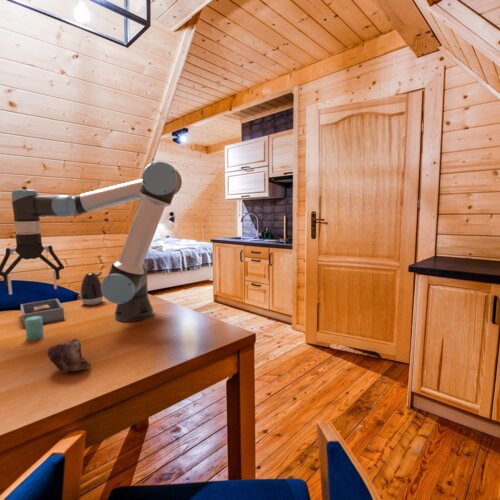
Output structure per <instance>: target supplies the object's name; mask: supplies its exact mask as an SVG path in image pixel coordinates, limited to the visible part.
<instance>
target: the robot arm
mask: <svg viewBox="0 0 500 500" xmlns="http://www.w3.org/2000/svg"><path fill="white" fill-rule="evenodd" d="M182 183H183V182H182V176H181V174H180V172H179V171H178V170H177V169H176V168H175V167H174V166H173V165H171V164H170V163H168V162H165V161H153V162H151V163H149V164H148V165H147V166H145V168H144V170H143V171H142V175H141V178H139V179H136V180H132V181H129V182H124V183H121V184H116V185H113V186H108V187H104V188H99V189H96V190H92V191H88V192H87V191H86V192H84V193H80V194H77V195H76V194H74V195H65V194H59V195H58V194H55V195H50V194H49V195H48V194H47V195H41V194H38V191H37V190H35V189H21V188H20V189H17V188H16V189H13V190H12V191H11V205H12V212H13V220H14V222H13V224H14V232H15V233H16V235H15V243H16V247H15V248H13V247H12V248H11V247H6V248H5V254H4V257H3V259H2V261H1V262H0V276H1V277H2V279H3V285H4V286H7V287H8V288H7V289H8V295H13V289H12V288H13V287H12V280H11V279H12V278H11V272H12V271H13V270H14V268H15V267H17V265H18V264H19V263H20V262H21V261H22V260H25V261H26V260H30V259H31V260H35V259H38V258H39V259H40V260H42V261H43V262H44V263H45V264H46V265H48V266H49V267H50V268H51V269H53V270H52V276H53V277H52V278H53V288H54V290H58V284H57V281H58V280H60V271H62V270H63V269H65V266H64V265H63V263H62V262H61V260H60V259H59V257H58V256H57V255H56V253H55V252H54V249H53V246H52V245H49V244H48V245H46V246H44V245H43V241H42V234H41V231H42V229H41V220H40V218H41V217H60V218H61V217H62V218H63V217H64V218H65V217H79V216H83V215H84V214H86V213H87V214H88V213H90V212H94V211H99V210H102V209H106V208H111V207H114V206H119V205H122V204H126V203H131V202H135V201H139V200H140V201H139V202H140V203H139V205H138V208H137V210H136V213H135V216H134V217H133V220H132V224H131V226H130V228H129V231H128V233H127V236H126V239H125V242H124V245H123V246H122V247H123V248H122V250H121V253H120V255H119V257H118V259H115V260H114V261H113V262H112V264H111V267H110V269H109V272H108V274H107V275H106V276H105V277H104V278H103V280H102V281H101V292H102V294H103V298H104V299H105V300H107V301H108V302H110V303H112V304H115V305H116V308H115V311H114V319H115V320H116V321H119V322H125V323H126V322H128V323H129V322H139V321H142V320H145V319H149V318H150V317H152V316H153V315H154V308H153V306H152V304H151V303H152V302H151V300H150V299H149V294H148V293H149V292H148V291H149V289H148V268H147V264H146V263H145V260H146V258H147V254H148V252H149V249H150V246H151V244H152V242H153V239H154V236H155V234H156V232H157V229H158V226H159V223H160V221H161V218H162V216H163V213H164V211H165V208H167V207H169V206H171V204H172V201H173V199H174V197H175V195H176V194H177V193H178V192H179V191H180V189H181V188H182V185H183V184H182ZM44 251H46V252H48V253H49V254H50V256H51V257H52V258H53V260H54V261H55V262H56V264H57V265H58V266H56V265H55V264H54V263H53V262H52V261H50V260H49V259H48V258H47V257H46V256H45V255H43V254H42V253H43V252H44ZM14 253H16V254H18V255H17V257H16V259H14V261H13V262H12V263H11V264H10V266H8V268H6V270H5V271H3V270H4V268H5V267H6V264H7V263H8V260H9V259H10V256H11V255H13V254H14Z"/></svg>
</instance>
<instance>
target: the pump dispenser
mask: <svg viewBox="0 0 500 500" xmlns="http://www.w3.org/2000/svg"><path fill="white" fill-rule="evenodd" d="M101 275H102V273H101V272H98V273H94V272H87V273H86V274H85V275H84V277H83V279H82V282H81V285H80V288H79V289H80V290H79V299H80V300H81V301H82V303H83V304H84V305H87V306H94V305H98V304H100V303H101V302H102V301H103V298H104V296H103V294H102V292H101V284H102V281H101V280H100V278H99V276H101Z"/></svg>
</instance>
